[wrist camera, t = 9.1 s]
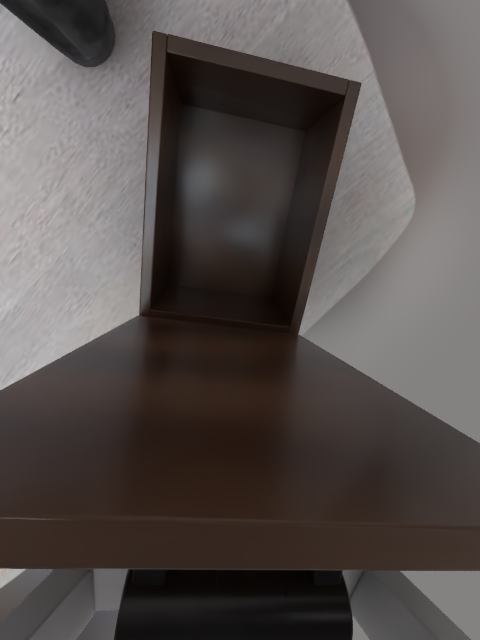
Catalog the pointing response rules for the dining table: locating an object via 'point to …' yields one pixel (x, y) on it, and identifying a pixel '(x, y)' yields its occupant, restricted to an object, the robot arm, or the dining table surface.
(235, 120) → the chest
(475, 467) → the chest lid
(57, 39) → the beverage cup
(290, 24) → the dining table surface
